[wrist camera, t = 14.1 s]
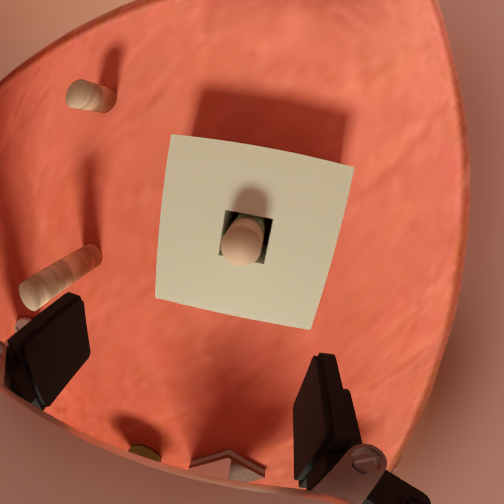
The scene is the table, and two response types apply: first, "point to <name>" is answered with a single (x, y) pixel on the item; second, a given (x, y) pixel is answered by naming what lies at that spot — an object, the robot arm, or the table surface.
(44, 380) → the robot arm
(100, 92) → the dowel 6cm
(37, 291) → the dowel 13cm
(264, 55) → the table surface
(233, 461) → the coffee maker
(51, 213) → the table surface
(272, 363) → the table surface
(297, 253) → the square hole block
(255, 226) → the dowel 9cm
